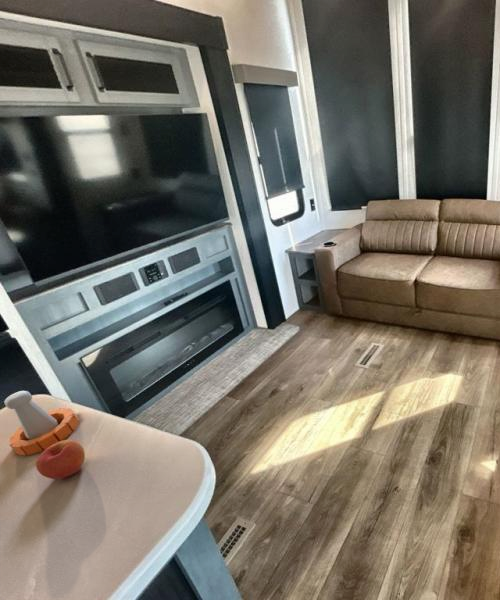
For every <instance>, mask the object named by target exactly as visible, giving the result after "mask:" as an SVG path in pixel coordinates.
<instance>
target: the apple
mask: <svg viewBox="0 0 500 600" xmlns="http://www.w3.org/2000/svg"><path fill="white" fill-rule="evenodd" d="M85 458H86V453H85V448H84V446H83V445H82V444H81V443H80V442H79V441H77V440H75V439H63V440H62V441H59V442H58V443H55V444H53V445H52V446H50V447H48V448H47V449H46V450H44V449H43V451H41V452H40V455H38V457H37V460H36V462H35V467H36V471H37V472H38V473H39V474H40V475H41V476H43V477H44V478H47V479H52V480H61V479H65V478H68V477H69V476H72V475H73V474H76V473H78V472H79V471H80V470H81V469H82V467H83V464H84V462H85Z"/></svg>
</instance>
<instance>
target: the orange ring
mask: <svg viewBox="0 0 500 600" xmlns="http://www.w3.org/2000/svg"><path fill="white" fill-rule="evenodd" d="M47 413H48V414H49V415H51V416H52V417H53V418H55V419H56V420H57V423H59V422H60V423H59V424H58V426H57V427H56V428H54V429H53V430H52V431H50V432H48V433H46V434H44V435H43V436H41V437H39V438H35V439H32V440H30V439H28V438H26V436H25V433H24V431H23V429H22V426H21V425H20V427H18V429H16V430H15V432H14V433H12V435H11V436H10V438H9V440H8V442H9V446H10V448H11V449H12V450H13V451H14V452H15V454H17V455H21V456H30V455H33V454H37V453H42V452H43V451H44V450H46V449H47V448H48V447H50V446H52V445H53V444H55V443H58V442H60V441H63V440H66V438H67V437H68V436H70V435H71V434H72V433H73V432H74V431H75V430H76V428H77V427H78V425H79V423H80V420H79V417H78V416H77V414H76V413H75V411H74V410H73V409H72V408H70V407H69V408H67V407H62V408H61V407H60V408H56V409H52V410H49V411H47Z"/></svg>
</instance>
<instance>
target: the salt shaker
mask: <svg viewBox="0 0 500 600" xmlns="http://www.w3.org/2000/svg"><path fill="white" fill-rule="evenodd" d="M32 399H33V396H32V394H31V392H29V391H28V390H19V391H17V392H14V393H12V394H10V395H9V396H7V397H6V398H5V399H4V402H3V403H4V406H5V407H7V409H9V410H13V411H14V413H15V414H16V417H17V419H18V421H19V424H20V427H21V426H22V429H23V431H24V433H25V436H26V438H28V439H29V440H32V439H35V438H39V437H41V436H43V435H44V434H46V433H48V432H50V431H52V430H53V429H54V428H56V427H57V426H58V425H59V424H58V423H59V422H57V420H56V419H55V418H53V417H52V416H51V415H49V414H48V411H46V410H45V409H43V408H42V407H41V406H39V405H38V404H37V403H35V402H34V401H33V400H32Z"/></svg>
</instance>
